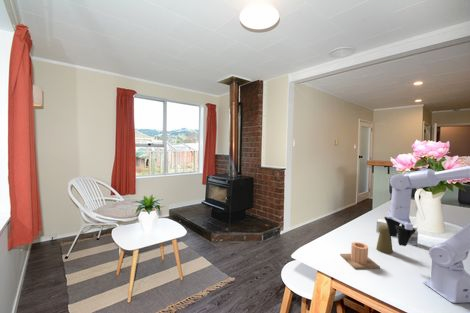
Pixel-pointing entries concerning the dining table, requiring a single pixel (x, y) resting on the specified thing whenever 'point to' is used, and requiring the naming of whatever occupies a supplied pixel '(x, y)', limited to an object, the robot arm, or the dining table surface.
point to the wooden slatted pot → (359, 252)
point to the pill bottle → (413, 237)
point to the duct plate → (355, 265)
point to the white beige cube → (380, 223)
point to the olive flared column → (384, 240)
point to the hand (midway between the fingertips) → (397, 240)
